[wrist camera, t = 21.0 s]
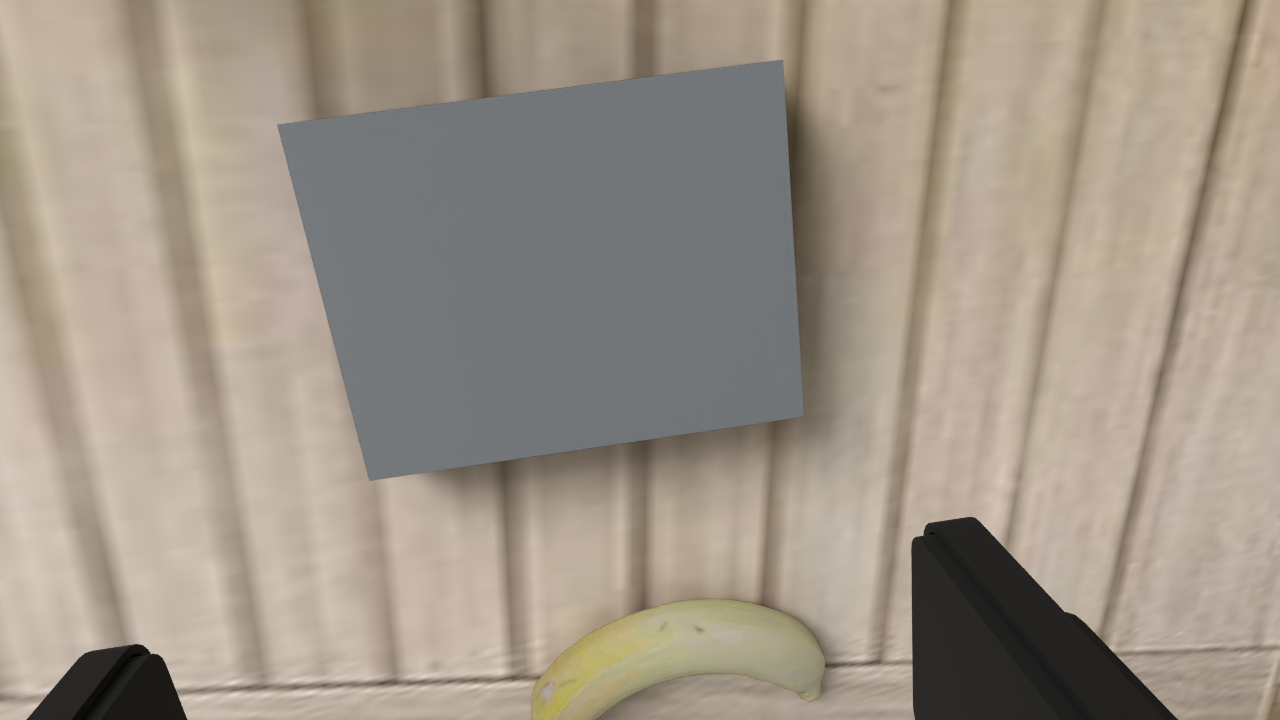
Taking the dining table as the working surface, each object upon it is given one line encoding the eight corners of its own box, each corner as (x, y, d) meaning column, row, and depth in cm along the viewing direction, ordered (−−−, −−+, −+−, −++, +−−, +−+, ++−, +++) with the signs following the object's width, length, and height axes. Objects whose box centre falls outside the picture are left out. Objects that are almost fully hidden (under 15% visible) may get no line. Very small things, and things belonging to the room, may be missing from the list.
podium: (758, 62, 33) (783, 59, 29) (780, 383, 37) (804, 416, 34) (311, 120, 32) (277, 124, 28) (389, 440, 37) (369, 480, 33)
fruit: (518, 604, 40) (514, 648, 37) (818, 571, 41) (839, 612, 38) (534, 719, 42) (531, 770, 39) (817, 687, 43) (837, 734, 40)
